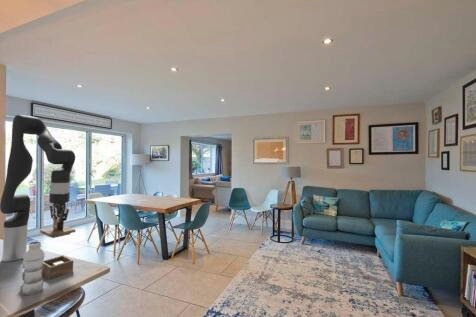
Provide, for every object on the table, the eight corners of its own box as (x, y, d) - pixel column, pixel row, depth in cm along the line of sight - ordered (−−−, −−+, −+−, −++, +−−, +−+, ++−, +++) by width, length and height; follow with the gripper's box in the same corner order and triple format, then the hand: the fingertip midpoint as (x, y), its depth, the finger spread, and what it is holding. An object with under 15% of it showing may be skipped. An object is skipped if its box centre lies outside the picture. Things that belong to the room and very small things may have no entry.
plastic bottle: (30, 298, 90) (33, 246, 90) (16, 296, 92) (19, 244, 92) (47, 289, 97) (49, 241, 97) (34, 287, 98) (36, 239, 98)
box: (40, 274, 108) (40, 261, 108) (62, 267, 116) (63, 255, 116) (49, 281, 103) (50, 267, 103) (72, 273, 111) (73, 260, 111)
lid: (40, 234, 109) (40, 219, 109) (64, 229, 117) (65, 215, 117) (50, 239, 103) (51, 223, 103) (75, 234, 111) (75, 218, 112)
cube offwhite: (51, 270, 111) (51, 262, 111) (60, 267, 114) (60, 260, 114) (54, 272, 109) (55, 264, 109) (63, 269, 112) (63, 262, 112)
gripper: (43, 191, 111) (41, 227, 111) (57, 194, 103) (55, 233, 103) (62, 189, 117) (60, 224, 117) (76, 192, 110) (74, 229, 110)
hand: (58, 228), depth 110 cm, fingers closed on lid, 3 cm apart
